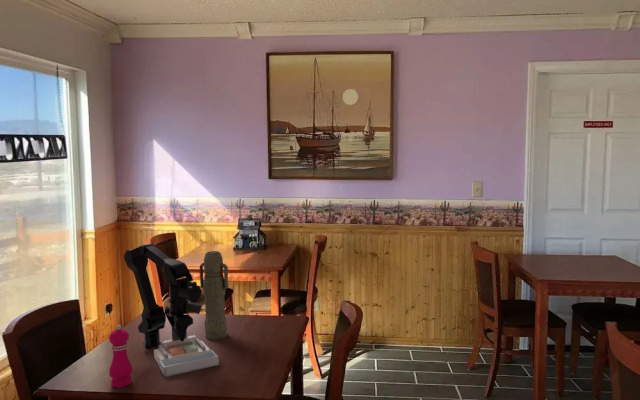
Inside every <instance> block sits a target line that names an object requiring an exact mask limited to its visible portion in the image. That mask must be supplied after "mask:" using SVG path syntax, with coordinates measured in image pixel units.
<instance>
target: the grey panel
mask: <svg viewBox="0 0 640 400" xmlns="http://www.w3.org/2000/svg"><path fill="white" fill-rule="evenodd" d="M187 335H188V331H187V330H186V334H185V338H184V341H181V340H180V338H179V336H178V334H177V331H176V329H175V327H174V326H172V327H171V339H168V340H167V339H166V340H162V346H163V348H164V349H165V351H166V350H169V349H171V348H176V347H182V346H187V345H192V344H195V345H196V338H197V336H196V335H188V336H187Z"/></svg>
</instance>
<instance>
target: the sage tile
mask: <svg viewBox="0 0 640 400" xmlns="http://www.w3.org/2000/svg"><path fill="white" fill-rule="evenodd" d="M182 348H183V350H184V352H185V353H191V352H195V351H198V348H197V346H196V345H195V344H192V345H187V346H182Z"/></svg>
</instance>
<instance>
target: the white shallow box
mask: <svg viewBox="0 0 640 400" xmlns="http://www.w3.org/2000/svg"><path fill="white" fill-rule="evenodd" d="M196 346H197V348H198V351H195V352H191V353H185V352H184V354H181V355H176V356H171V355H170V353H169V350H166V351H165V349H164V348H163V344H162V345H158V347H157V349H156V348H155V349H153V358H154V359H155V361H156V363H157V364H158V365H159V360H161V361H166V360H171V359H176V358H181V357H186V356H190V355H195V354H200V353H205V352H210V351H211V349H210V347H209V346H207V344H206V343H204V341H203V340H200V339H199V338H198V337H196Z"/></svg>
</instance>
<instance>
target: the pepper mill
mask: <svg viewBox="0 0 640 400" xmlns="http://www.w3.org/2000/svg"><path fill="white" fill-rule="evenodd" d="M129 336H130V335H129V332H128V331H127V330H126V329H124V328H122V325H121V324H116V325H115V329H114V330H112V331H111V332H110V334H109V336H108V340H109V342H110V344H111V345H110V346H111V348H110V349H111V350H112V361H111V363H110V365H109V370H108V371H109V372H108V373H109V377H111V380H110V381H111V386H112V388H117V389H119V388H125V387H127V386H130V385H131V384H132V383H133V382H132V381H133V379H132V376H131V375H132V373H133V372H134V371H133V365H132V363H131V360H130V359H129V357H128V354H127V349H128V343H129V342H128V340H129V338H130V337H129Z"/></svg>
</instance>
